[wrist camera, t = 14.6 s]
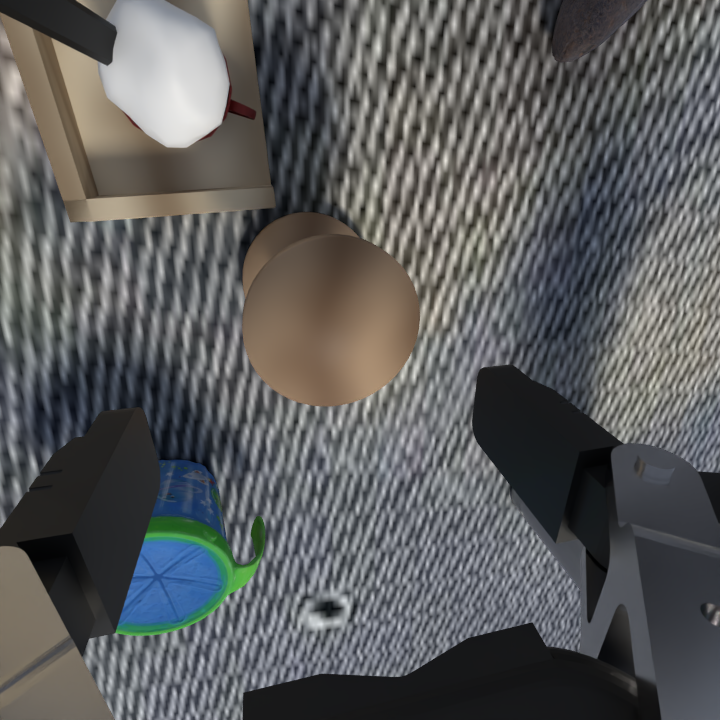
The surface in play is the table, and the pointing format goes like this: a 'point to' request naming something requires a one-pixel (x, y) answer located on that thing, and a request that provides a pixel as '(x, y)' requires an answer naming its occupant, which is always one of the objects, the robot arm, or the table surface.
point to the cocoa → (146, 62)
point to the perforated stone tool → (588, 25)
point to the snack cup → (184, 555)
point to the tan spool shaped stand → (325, 311)
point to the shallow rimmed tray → (133, 146)
